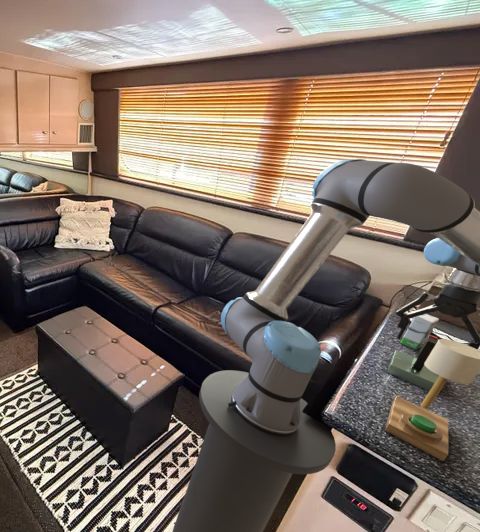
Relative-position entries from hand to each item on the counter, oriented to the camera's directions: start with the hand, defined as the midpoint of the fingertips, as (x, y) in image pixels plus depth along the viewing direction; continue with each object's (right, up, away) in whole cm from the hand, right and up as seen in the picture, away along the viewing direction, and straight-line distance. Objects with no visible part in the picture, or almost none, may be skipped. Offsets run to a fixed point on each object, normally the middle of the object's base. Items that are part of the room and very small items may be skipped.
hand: (427, 348), depth 98 cm
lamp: (-20, -11, -17) cm, 28 cm away
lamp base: (-24, -15, -19) cm, 34 cm away
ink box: (+18, -4, +22) cm, 29 cm away
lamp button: (-27, -13, -23) cm, 37 cm away
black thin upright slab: (-1, -6, +2) cm, 7 cm away
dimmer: (-1, -9, +4) cm, 10 cm away
